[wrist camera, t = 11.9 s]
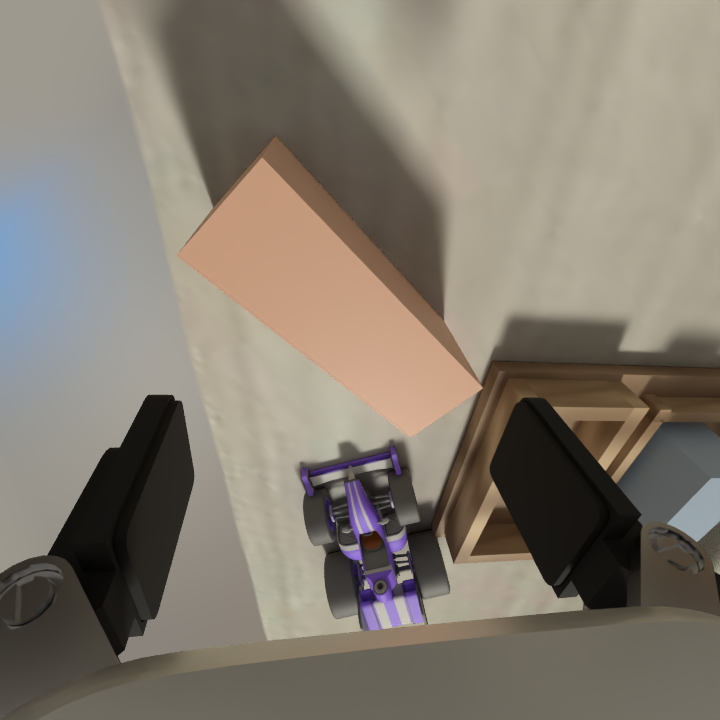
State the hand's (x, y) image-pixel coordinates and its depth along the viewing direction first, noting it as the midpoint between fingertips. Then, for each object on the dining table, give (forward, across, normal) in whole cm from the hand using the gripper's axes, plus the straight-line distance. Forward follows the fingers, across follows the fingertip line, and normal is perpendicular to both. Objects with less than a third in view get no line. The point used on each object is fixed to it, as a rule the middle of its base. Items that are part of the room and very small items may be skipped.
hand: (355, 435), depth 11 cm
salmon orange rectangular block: (+10, 0, -1) cm, 10 cm away
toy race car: (+11, -5, +19) cm, 23 cm away
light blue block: (+9, -24, +13) cm, 29 cm away
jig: (+10, -19, +12) cm, 25 cm away
